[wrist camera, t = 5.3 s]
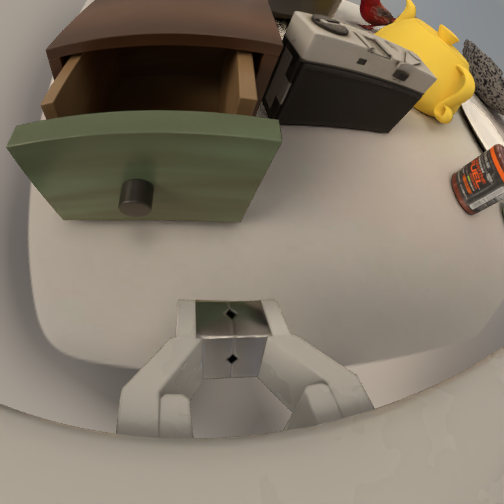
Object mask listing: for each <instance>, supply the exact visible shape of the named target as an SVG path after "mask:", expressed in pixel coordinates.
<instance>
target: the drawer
mask: <svg viewBox="0 0 504 504" xmlns="http://www.w3.org/2000/svg"><path fill="white" fill-rule="evenodd" d="M257 100H258V99H257V90H256V82H255V73H254V65H253V57H252V52H250V51H244V50H236V49H228V48H218V47H205V46H186V45H151V46H132V47H120V48H110V49H102V50H95V51H89V52H83V53H77V54H73V55H72V56H71V57H70V59H69V60H68V62H67V63H66V64H65V66H64V67H63V69H62V70H61V72H60V73H59V75H58V76H57V78H56V79H55V81H54V82H53V84H52V86H51V87H50V89H49V91H48V92H47V94H46V96H45V97H44V99H43V101H42V103H41V108H42V110H43V112H44V115H45V117H46V119H47V120H42V121H37V122H32V123H27V124H22V125H18V126H16V127H15V130H14V131H13V134H12V136H11V138H10V140H9V142H8V144H7V146H6V148H7V149H8V151H9V152H10V154H11V155H12V156H13V158H14V159H15V160H16V162H17V163H18V165H19V166H20V167H21V169H22V170H23V171H24V173H25V174H26V175H27V176H28V178H29V179H30V181H31V182H32V183H33V184H34V186H35V187H36V188H37V189H38V191H39V192H40V193H41V194H42V195H43V197H44V198H45V199H46V200H47V201H48V203H49V204H50V205H51V206H52V207H53V208H54V210H55V211H56V212H57V213H58V214H59V215H60V216H61V218H62V219H63V220H186V221H222V222H241V220H242V218H243V216H244V214H245V212H246V210H247V208H248V206H249V204H250V202H251V200H252V198H253V196H254V194H255V192H256V190H257V188H258V187H259V185H260V183H261V181H262V179H263V177H264V175H265V173H266V171H267V169H268V167H269V166H270V164H271V162H272V160H273V158H274V156H275V154H276V152H277V151H278V149H279V147H280V145H281V143H282V137H281V131H280V125H279V120H276V119H270V118H263V117H255V116H252V114H253V111H254V108H255V105H256V103H257Z"/></svg>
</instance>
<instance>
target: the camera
mask: <svg viewBox="0 0 504 504" xmlns="http://www.w3.org/2000/svg"><path fill="white" fill-rule="evenodd" d="M282 43H283V48H282V50H281V53H280V55H279V56H278V60H277V62H276V65H275V67H274V70H273V72H272V75H271V77H270V80H269V82H268V85H267V87H266V90H265V92H264V95H263V97H262V101H263V104H264V106H265V108H266V111H267V113H268V116H269V118H270V119H276V120H279V123H289V124H311V125H325V126H337V127H347V128H356V129H364V130H371V131H378V132H385V133H388V132H389V131H390V130H391V129H392V128H393V127H394V126H395V125H396V124H397V123H398V122H399V121H400V120H401V119H402V118H403V117H404V116H405V115H406V114H407V113H408V112H409V111H410V110H411V108H412V107H413V106H414V105H415V104H416V103H417V102H418V101H419V100H420V99H421V98H422V95H424V93H425V92H426V91H427V90H428V89H429V88H430V87H431V86H432V85H433V83H434V82H435V81H436V80H437V78H436V77H435V75H434V74H433V73H432V72H431V71H430V70H429V68H428V67H427V66H426V65H425V64H424V63H423V62H422V60H421V59H420V57H419V56H418V55H417V54H415V53H414V52H412V51H409V50H407V49H405V48H403V47H401V46H399V45H397V44H395V43H393V42H390V41H388V40H386V39H384V38H381V37H379V36H376V35H374V34H371V33H369V32H366V31H364V30H361V29H358V28H355V27H352V26H349V25H346V24H343V23H340V22H338V21H336V20H334V19H332V18H330V17H327V16H324V15H318V14H314V15H312V14H308V13H304V12H299V11H295V12H294V14H293V16H292V19H291V21H290V23H289V26H288V28H287V30H286V33H285V34H284V38H283V40H282Z"/></svg>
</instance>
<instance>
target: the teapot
mask: <svg viewBox="0 0 504 504" xmlns="http://www.w3.org/2000/svg"><path fill="white" fill-rule="evenodd" d="M406 2H407V4H406V8H405V10H404V12H403V13H402V14H401V15H400V16H399V17H398V18H397V19H396V20H395V21H394V22H393V23H392V24H389V25H387V26H385V27H383V28H381V29H380V30H379V31H377V32H376V33H375V34H374V35H376V36H379V37H381V38H384V39H386V40H388V41H390V42H393V43H395V44H397V45H399V46H401V47H403V48H405V49H407V50H409V51H412V52H414V53H415V54H417V55H418V56H419V57H420V59H421V60H422V62H423V63H424V64H425V65H426V66H427V67H428V68H429V70H430V71H431V72H432V73H433V74H434V75H435V77H436V78H437V80H436V81H435V82H434V83H433V85H432V86H431V87H430V88H429V89H428V90H427V91H426V92H425V93H424V95H422V98H421V99H420V100H419V101H418V102H417V103H416V104H415V105H414V106H413V107H415V108H416V109H418V110H419V111H421V112H423V113H424V114H427V115H429V116H433V117H436V119H437V120H438V121H439V122H441V123H443V124H448V123H450V122H451V120H452V117H453V115H454V114H455V113H456V112H457V110H458V109H459V107H460V106H461V104H462V103H464V102H466V101H467V100H469V99H470V98H471V97H472V95H473V94H474V92H475V82H474V79H473V77H472V75H471V73H470V72H469V64H468V62H467V61H466V59H465V58H464V57H463V56H462V55H461V53H460V52H459V51H458V50H457V49H456V48H455V47H454V46H453V45H452V44H454V43H456V42H458V41H459V39H458V38H457V37H456V36H455V35H454V34H453V33H452V32H451V31H450V30H449V29H447V28H446V27H445V26H443V25H440V26H439V30H438V32H437V31H435V30H434V29H433V28H432V27H430V26H429V25H427V24H426V23H424V22H423V21H421V20H420V19H418V18H415V15H416V7H415V5H414V4H413V2H412V1H411V0H406Z"/></svg>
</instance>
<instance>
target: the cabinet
mask: <svg viewBox="0 0 504 504" xmlns="http://www.w3.org/2000/svg"><path fill="white" fill-rule="evenodd" d="M151 45H186V46H205V47H218V48H228V49H236V50H244V51H250V52H252V57H253V65H254V73H255V82H256V90H257V99H258V100H257V103H256V105H255V108H254V111H253V114H252V116H256V113H257V111H258V108H259V105H260V103H261V100H262V97H263V95H264V92H265V90H266V87H267V85H268V82H269V80H270V77H271V75H272V72H273V70H274V67H275V65H276V62H277V60H278V56H279V55H280V53H281V50H282V48H283V43H282V40H281V37H280V34H279V31H278V28H277V25H276V22H275V19H274V17H273V14H272V11H271V8H270V6H269V3H268V0H95V1H94V2H92V3H91V4H90V5H89V6H88V7H87V8H86V9H84V10H83V11H82V12H81V13H80V14H79V15H78V16H77V17H76V18H75V19H74V20H73V21H72V22H71V23H70V24H69V25H68V26H67V27H66V28H65V29H64V30H63V31H62V32H61V33H60V34H59V35H58V36H57V37H56V39H55V40H54V41H53V42H52V43H51V44H50V45H49V46H48V48H47V49H46V53H47V57H48V59H49V63H50V67H51V71H52V74H53V77H54V81H55V79H56V78H57V76H58V75H59V73H60V72H61V70H62V69H63V67H64V66H65V64H66V63H67V62H68V60H69V59H70V57H71V56H72V55H73V54H77V53H83V52H89V51H95V50H102V49H110V48H120V47H132V46H151Z"/></svg>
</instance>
